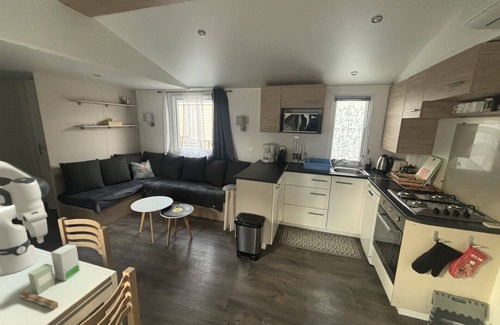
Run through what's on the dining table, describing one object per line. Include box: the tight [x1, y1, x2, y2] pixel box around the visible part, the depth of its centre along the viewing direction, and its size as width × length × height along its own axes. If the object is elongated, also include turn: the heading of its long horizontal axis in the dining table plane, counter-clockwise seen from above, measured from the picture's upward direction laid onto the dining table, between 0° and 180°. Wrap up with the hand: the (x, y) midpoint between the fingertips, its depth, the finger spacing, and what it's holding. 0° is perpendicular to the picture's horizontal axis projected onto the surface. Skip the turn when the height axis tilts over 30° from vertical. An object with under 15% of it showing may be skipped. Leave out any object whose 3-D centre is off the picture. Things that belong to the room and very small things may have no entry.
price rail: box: [19, 290, 59, 311], centre depth 92 cm, size 22×2×2 cm, turn 75°
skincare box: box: [50, 243, 81, 282], centre depth 107 cm, size 8×7×16 cm
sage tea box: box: [27, 263, 56, 296], centre depth 98 cm, size 7×4×11 cm, turn 165°
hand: (37, 239), depth 96 cm, fingers open, 8 cm apart
